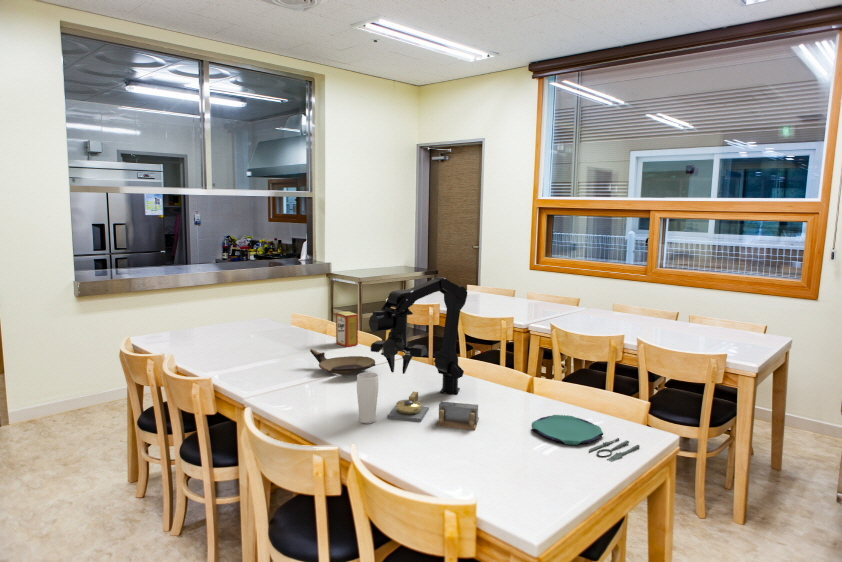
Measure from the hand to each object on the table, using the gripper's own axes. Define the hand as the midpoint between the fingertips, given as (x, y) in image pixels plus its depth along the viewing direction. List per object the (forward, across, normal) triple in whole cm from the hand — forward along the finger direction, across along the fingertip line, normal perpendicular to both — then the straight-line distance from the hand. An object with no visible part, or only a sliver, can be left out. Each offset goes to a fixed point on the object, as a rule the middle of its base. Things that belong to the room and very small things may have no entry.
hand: (398, 373), depth 191 cm
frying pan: (+11, -36, +26) cm, 46 cm away
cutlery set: (+12, +62, -5) cm, 63 cm away
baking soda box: (+11, -57, +67) cm, 89 cm away
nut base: (+11, +7, -7) cm, 15 cm away
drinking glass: (+11, -2, -18) cm, 22 cm away
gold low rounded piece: (+10, +7, -5) cm, 13 cm away
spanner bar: (+10, +24, -8) cm, 27 cm away
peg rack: (+11, +24, -8) cm, 28 cm away
